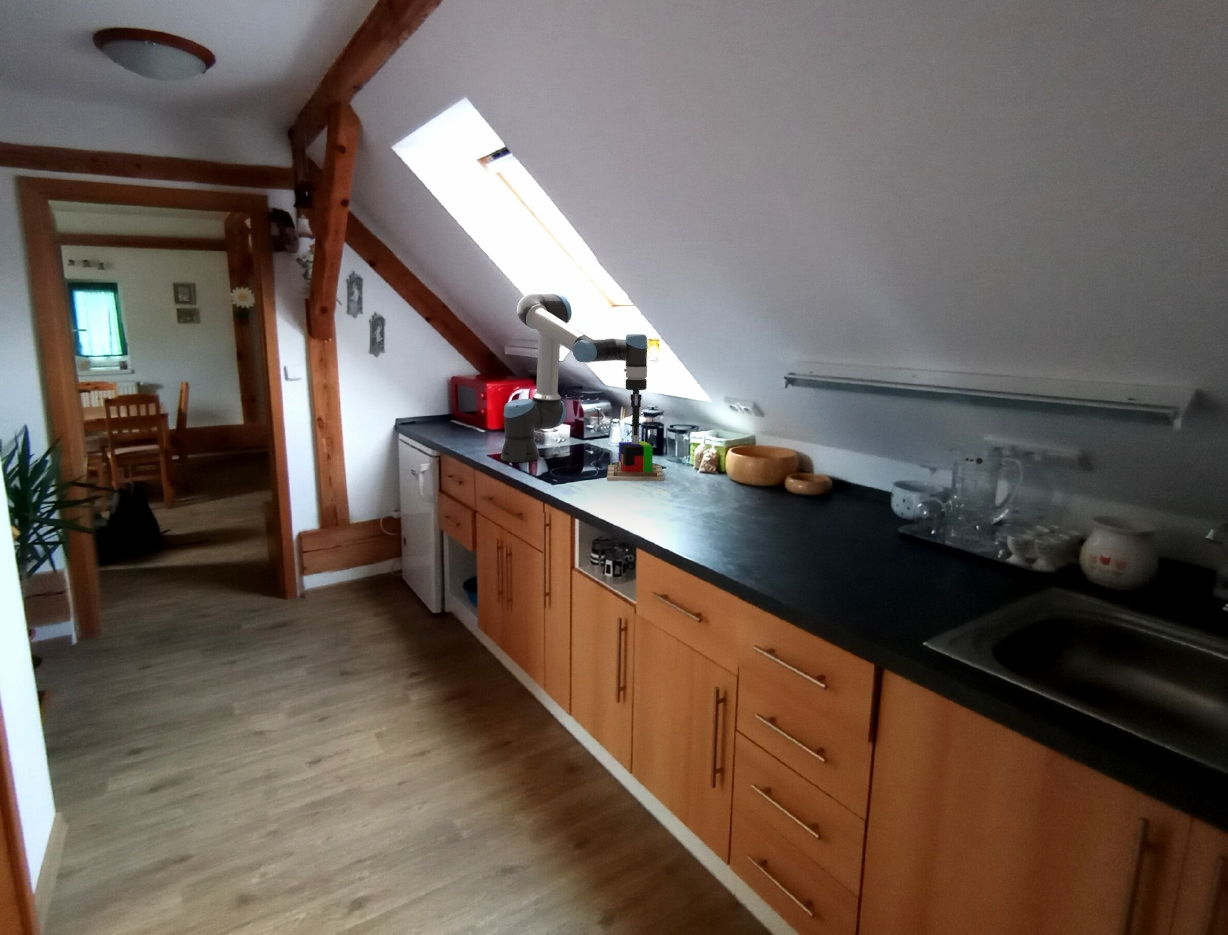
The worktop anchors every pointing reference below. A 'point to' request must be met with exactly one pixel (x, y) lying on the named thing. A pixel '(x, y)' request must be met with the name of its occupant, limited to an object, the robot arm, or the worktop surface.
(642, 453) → the puzzle toy
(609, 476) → the locating board
